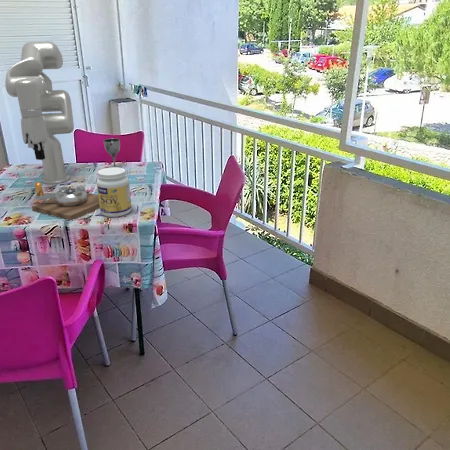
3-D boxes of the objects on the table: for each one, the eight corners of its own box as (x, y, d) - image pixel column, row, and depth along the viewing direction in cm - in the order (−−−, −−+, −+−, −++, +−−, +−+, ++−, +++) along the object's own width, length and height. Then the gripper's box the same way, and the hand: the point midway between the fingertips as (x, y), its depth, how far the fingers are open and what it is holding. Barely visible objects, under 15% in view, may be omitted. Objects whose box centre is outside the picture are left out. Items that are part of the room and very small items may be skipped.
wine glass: (115, 171, 222) (111, 142, 216) (104, 169, 226) (100, 140, 220) (126, 167, 228) (122, 139, 222) (115, 165, 232) (111, 137, 226)
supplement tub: (96, 217, 167) (90, 175, 160) (106, 206, 178) (100, 166, 171) (127, 218, 167) (123, 175, 160) (135, 206, 178) (131, 166, 171)
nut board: (32, 210, 175) (31, 205, 174) (74, 194, 192) (73, 189, 191) (71, 220, 165) (70, 215, 164) (111, 202, 182) (111, 197, 181)
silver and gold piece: (89, 195, 184) (86, 176, 180) (84, 205, 173) (81, 185, 169) (41, 197, 182) (38, 178, 178) (33, 208, 171) (29, 188, 167)
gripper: (34, 109, 174) (43, 153, 182) (10, 116, 161) (20, 164, 169) (51, 109, 173) (59, 154, 181) (28, 117, 160) (38, 165, 168)
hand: (40, 159), depth 175 cm, fingers closed
